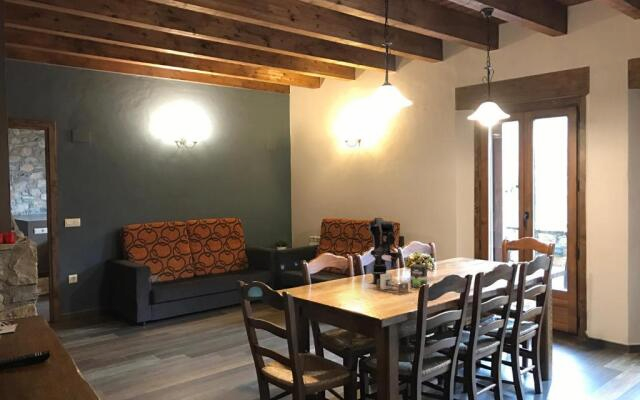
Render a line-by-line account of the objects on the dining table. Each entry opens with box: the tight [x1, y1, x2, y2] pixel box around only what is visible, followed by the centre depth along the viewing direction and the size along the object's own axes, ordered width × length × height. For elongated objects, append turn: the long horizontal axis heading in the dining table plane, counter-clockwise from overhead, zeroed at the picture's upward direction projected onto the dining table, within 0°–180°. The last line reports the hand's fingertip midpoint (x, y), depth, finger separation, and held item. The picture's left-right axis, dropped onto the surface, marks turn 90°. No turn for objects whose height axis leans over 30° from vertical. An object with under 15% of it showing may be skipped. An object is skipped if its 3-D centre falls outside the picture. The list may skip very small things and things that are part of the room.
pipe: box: [386, 280, 406, 294], centre depth 318 cm, size 20×10×6 cm, turn 38°
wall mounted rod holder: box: [373, 279, 413, 296], centre depth 318 cm, size 22×10×6 cm, turn 38°
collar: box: [380, 272, 393, 289], centre depth 321 cm, size 3×7×9 cm, turn 128°
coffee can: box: [409, 263, 428, 291], centre depth 326 cm, size 10×10×14 cm
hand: (385, 267), depth 324 cm, fingers open, 9 cm apart
